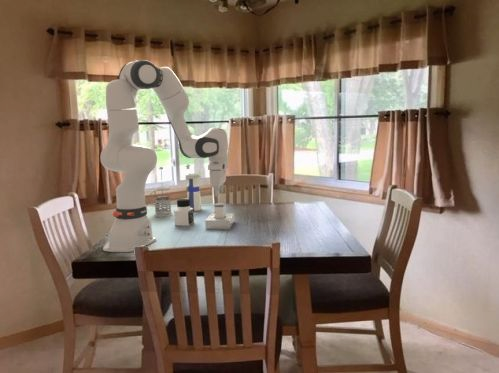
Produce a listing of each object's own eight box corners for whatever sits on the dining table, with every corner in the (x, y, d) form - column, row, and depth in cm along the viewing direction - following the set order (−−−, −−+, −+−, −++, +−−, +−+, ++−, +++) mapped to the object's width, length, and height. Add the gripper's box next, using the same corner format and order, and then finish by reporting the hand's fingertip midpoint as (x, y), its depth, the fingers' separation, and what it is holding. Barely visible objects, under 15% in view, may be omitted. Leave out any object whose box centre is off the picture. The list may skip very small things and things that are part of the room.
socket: (229, 229, 184) (229, 218, 183) (205, 229, 185) (205, 218, 184) (234, 221, 197) (233, 211, 197) (211, 221, 198) (211, 211, 198)
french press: (170, 216, 210) (168, 167, 206) (148, 216, 210) (145, 168, 206) (174, 212, 220) (172, 165, 216) (153, 212, 220) (150, 166, 216)
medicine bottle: (189, 226, 191) (188, 200, 189) (174, 225, 192) (173, 200, 190) (194, 222, 197) (193, 197, 196) (180, 221, 199) (178, 197, 197)
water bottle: (183, 210, 224) (181, 164, 220) (190, 207, 232) (188, 163, 228) (197, 211, 221) (195, 164, 217) (203, 208, 229) (202, 163, 225)
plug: (223, 224, 189) (223, 205, 187) (215, 224, 189) (214, 205, 188) (225, 222, 193) (224, 203, 191) (216, 222, 193) (216, 203, 192)
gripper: (215, 162, 197) (216, 190, 199) (207, 166, 177) (207, 198, 179) (228, 162, 196) (229, 190, 198) (221, 166, 176) (222, 198, 178)
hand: (219, 194), depth 189 cm, fingers open, 8 cm apart
